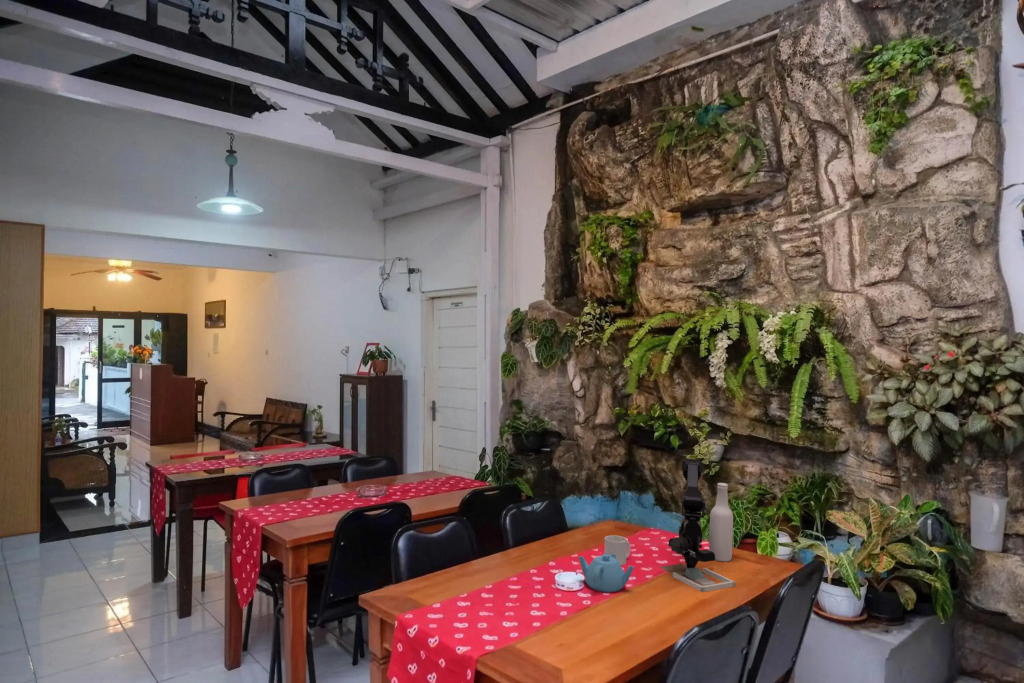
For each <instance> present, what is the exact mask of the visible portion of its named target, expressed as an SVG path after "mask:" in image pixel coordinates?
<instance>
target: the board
mask: <svg viewBox="0 0 1024 683" xmlns="http://www.w3.org/2000/svg"><path fill="white" fill-rule="evenodd" d="M659 568H660V569H662V570H664V571H666V572H668V573H670V574H672V575H673V572H675V573H677V574H679V575H681V576H683V577H687V576H686V575H685V572H686V569H687V565H686V564H684V563H677V564H676V563H675V564H669V565H663V566H659Z"/></svg>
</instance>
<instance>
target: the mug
mask: <svg viewBox="0 0 1024 683" xmlns="http://www.w3.org/2000/svg"><path fill="white" fill-rule="evenodd" d="M603 554H608V555H610V557H611V554H616V559H617V560H618V562H619V563H620V565H621V566H624V565H626V564H627V559H628V557H629V556H630V554H631V543H630V542H629V541H628V539H627V538H626V537H624V536H622V535H621V536H620V535H606V536H605V537H604V553H603Z"/></svg>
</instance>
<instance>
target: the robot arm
mask: <svg viewBox="0 0 1024 683" xmlns="http://www.w3.org/2000/svg"><path fill="white" fill-rule="evenodd" d="M680 462H681V465H680V470H681V471H682V476H683V479H685V482H686V483H685V484H686V485H685V491H683V492H684V493H683V497H682V498H681V516H682V517H683V518H682V520H681V521H680V526H679V525H678V526H679V527H678V537H671V538H670V539H669V540H668V547H670V549H671V552H675V553H676V554H678V555H680V554H681V556H682V557H683V559H684V562H685V565H686V566H687V568H695V567H696V566H697V564H698V562H701V563H706V562H712V561H713V562H714V561H716V560H715V554H714V552H712V551H710V550H709V549H707V548H705V549H702V548H703V545H702V543H703V531H702V525H701V519H704V516H706V510H707V508H706V507H707V506H706V501H705V500H704V499H703V494H702V491H700V489H699V480H700V479H701V477H702V476H701V475H702V473H703V472H704V462H701V460H700V459H695V458H684V460H681V461H680Z"/></svg>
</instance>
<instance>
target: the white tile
mask: <svg viewBox="0 0 1024 683" xmlns="http://www.w3.org/2000/svg"><path fill="white" fill-rule="evenodd" d="M694 582H695V583H697V584H699V585H701V586H706V585H712V584H717V583H716V582H715V581H713V580H711V579H710V578H708V577H706V578H700V579H695V581H694Z"/></svg>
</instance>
